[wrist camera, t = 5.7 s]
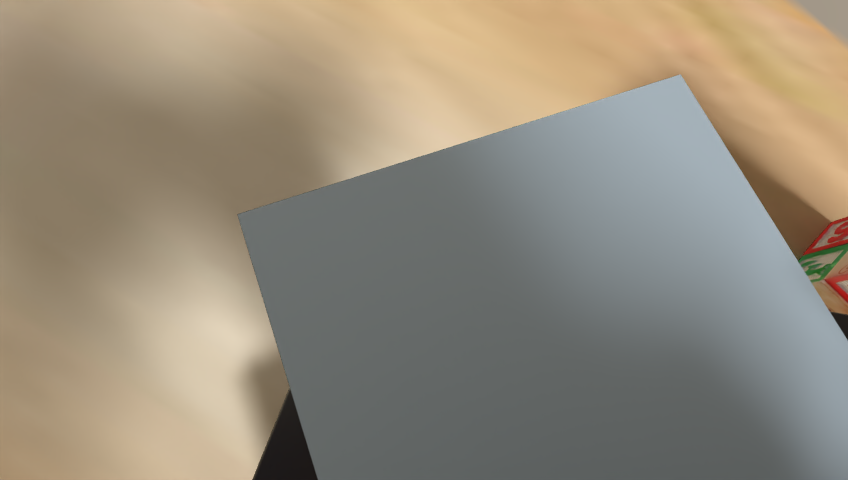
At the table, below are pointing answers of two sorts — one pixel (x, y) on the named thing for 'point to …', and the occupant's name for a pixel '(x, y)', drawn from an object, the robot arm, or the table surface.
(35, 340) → the table surface
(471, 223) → the slate block
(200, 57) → the table surface
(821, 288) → the stack of blocks
